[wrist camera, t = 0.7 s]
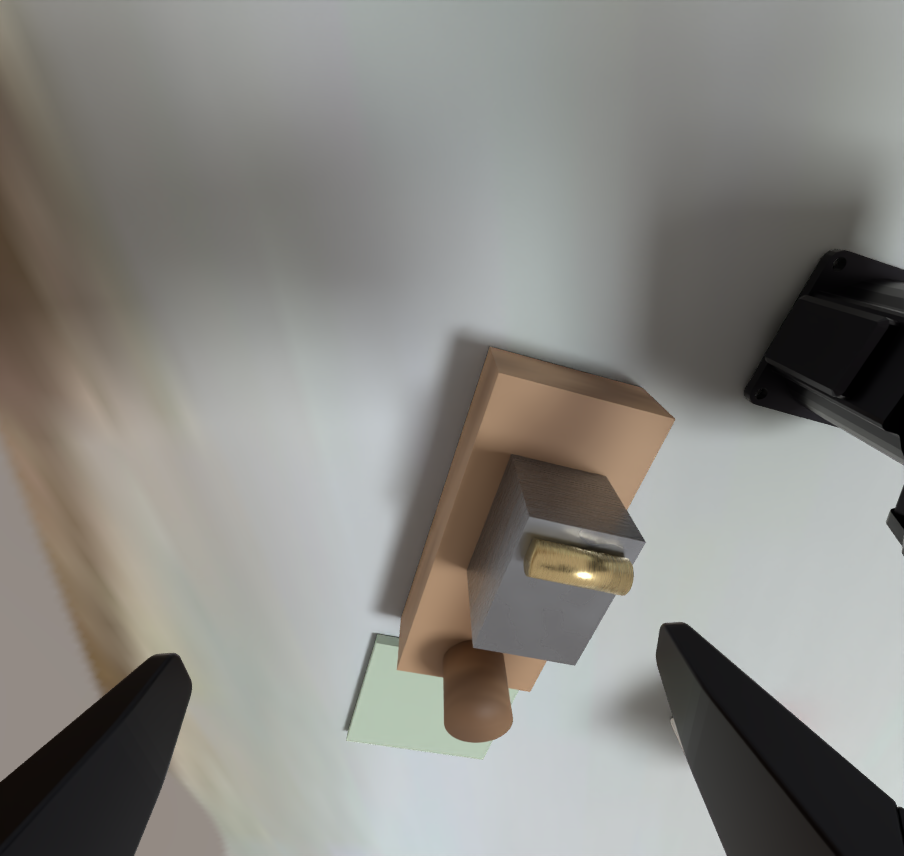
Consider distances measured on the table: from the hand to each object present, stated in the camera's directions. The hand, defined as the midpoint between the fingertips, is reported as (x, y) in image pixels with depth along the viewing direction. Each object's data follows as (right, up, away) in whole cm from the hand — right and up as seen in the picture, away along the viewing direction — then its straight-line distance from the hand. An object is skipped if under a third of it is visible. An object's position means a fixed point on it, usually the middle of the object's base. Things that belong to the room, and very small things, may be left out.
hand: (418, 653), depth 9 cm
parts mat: (0, -12, +21) cm, 24 cm away
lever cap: (+4, 0, +11) cm, 12 cm away
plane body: (+3, 0, +15) cm, 15 cm away
